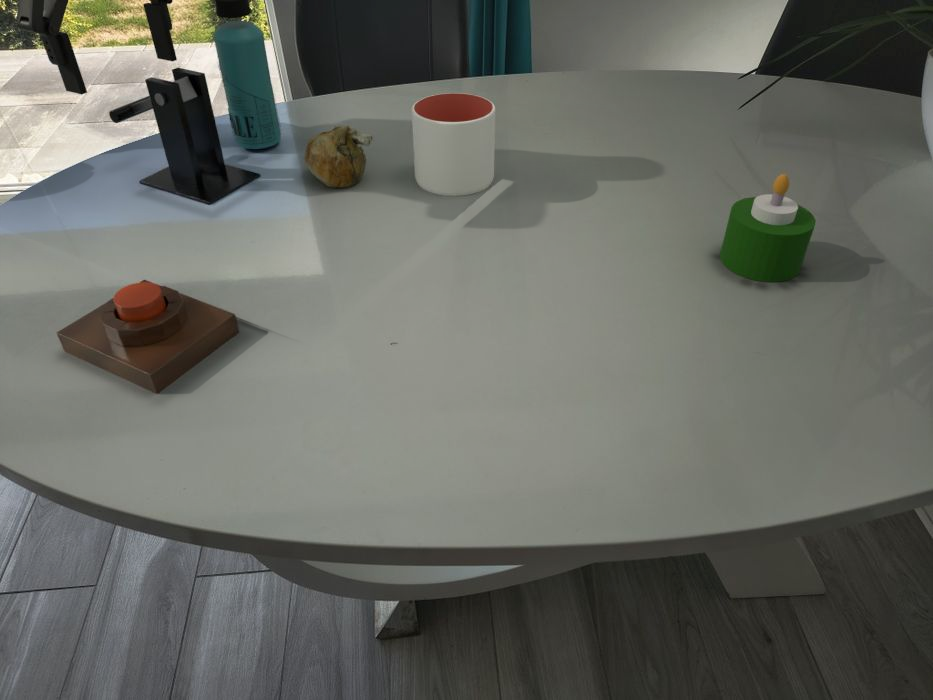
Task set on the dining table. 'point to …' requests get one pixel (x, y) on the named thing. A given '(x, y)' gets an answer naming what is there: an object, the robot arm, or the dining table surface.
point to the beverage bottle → (246, 77)
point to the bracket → (191, 143)
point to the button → (139, 302)
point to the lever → (149, 102)
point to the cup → (454, 143)
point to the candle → (767, 236)
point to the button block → (150, 339)
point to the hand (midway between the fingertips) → (124, 75)
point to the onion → (337, 156)
